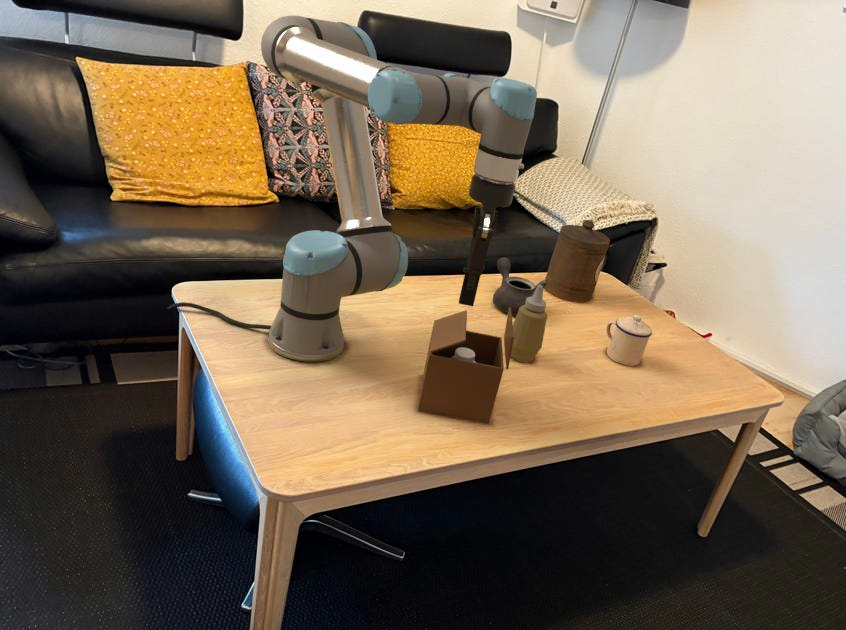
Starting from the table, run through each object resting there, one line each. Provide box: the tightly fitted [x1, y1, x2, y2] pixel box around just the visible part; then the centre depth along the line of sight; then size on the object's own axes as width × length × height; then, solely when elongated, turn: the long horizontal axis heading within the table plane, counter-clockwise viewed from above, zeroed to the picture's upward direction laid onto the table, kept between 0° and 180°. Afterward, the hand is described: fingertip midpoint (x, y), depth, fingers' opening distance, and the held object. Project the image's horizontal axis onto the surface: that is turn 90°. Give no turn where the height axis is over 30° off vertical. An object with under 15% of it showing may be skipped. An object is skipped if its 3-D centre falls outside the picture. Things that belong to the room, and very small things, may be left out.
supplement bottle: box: [451, 347, 476, 363], centre depth 133 cm, size 6×6×10 cm
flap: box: [430, 309, 468, 352], centre depth 127 cm, size 7×13×1 cm
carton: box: [417, 307, 514, 425], centre depth 130 cm, size 15×13×19 cm
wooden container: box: [544, 219, 611, 303], centre depth 195 cm, size 15×15×22 cm
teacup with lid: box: [605, 314, 653, 367], centre depth 167 cm, size 12×9×12 cm
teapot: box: [492, 257, 547, 316], centre depth 181 cm, size 19×15×10 cm
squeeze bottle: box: [510, 285, 548, 363], centre depth 153 cm, size 8×8×18 cm
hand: (466, 303), depth 125 cm, fingers closed
